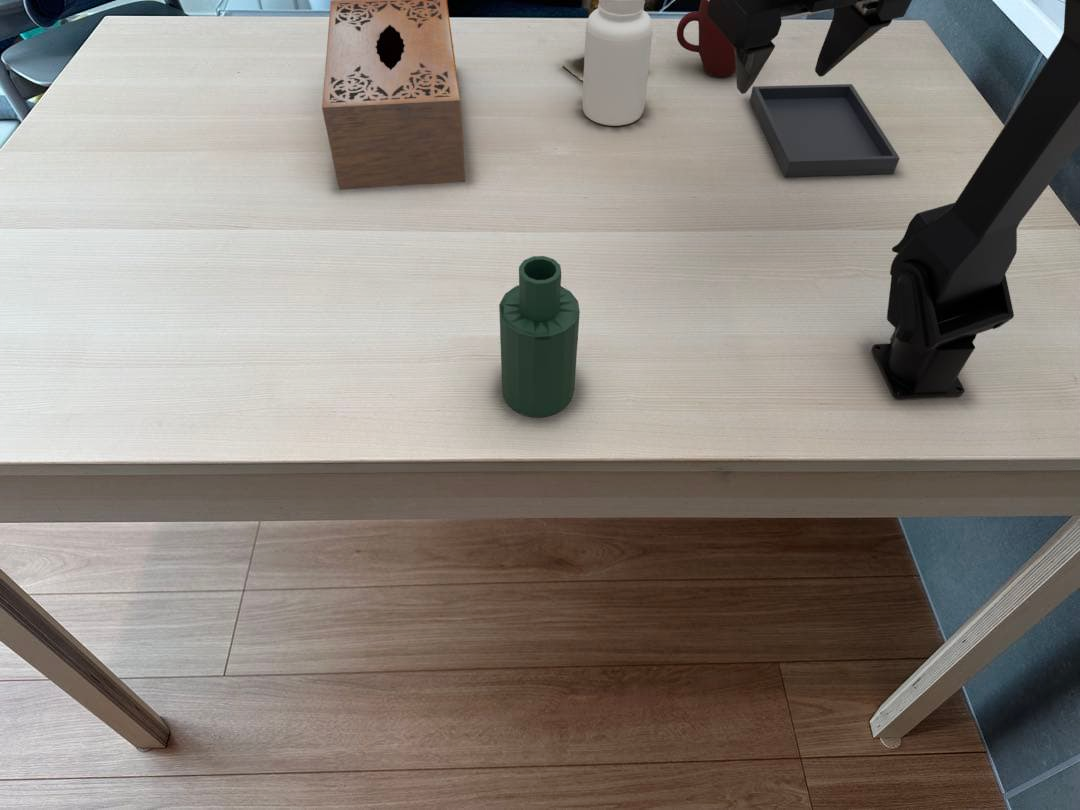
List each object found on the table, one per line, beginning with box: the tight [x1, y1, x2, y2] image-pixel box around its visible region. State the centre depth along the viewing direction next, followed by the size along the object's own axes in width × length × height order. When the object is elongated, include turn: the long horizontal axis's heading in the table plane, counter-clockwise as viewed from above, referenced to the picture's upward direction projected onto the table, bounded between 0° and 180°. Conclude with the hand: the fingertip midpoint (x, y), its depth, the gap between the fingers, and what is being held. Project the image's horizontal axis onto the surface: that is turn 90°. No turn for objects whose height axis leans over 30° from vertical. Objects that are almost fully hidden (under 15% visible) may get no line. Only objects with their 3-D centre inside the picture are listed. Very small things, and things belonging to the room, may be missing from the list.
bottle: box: [498, 255, 581, 418], centre depth 66 cm, size 6×6×14 cm
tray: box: [749, 83, 901, 178], centre depth 99 cm, size 17×13×2 cm
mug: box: [676, 0, 736, 78], centre depth 106 cm, size 11×8×10 cm
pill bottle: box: [581, 0, 654, 127], centre depth 97 cm, size 8×8×15 cm
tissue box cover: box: [321, 0, 467, 190], centre depth 96 cm, size 26×14×10 cm, turn 8°
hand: (780, 82), depth 79 cm, fingers open, 9 cm apart
